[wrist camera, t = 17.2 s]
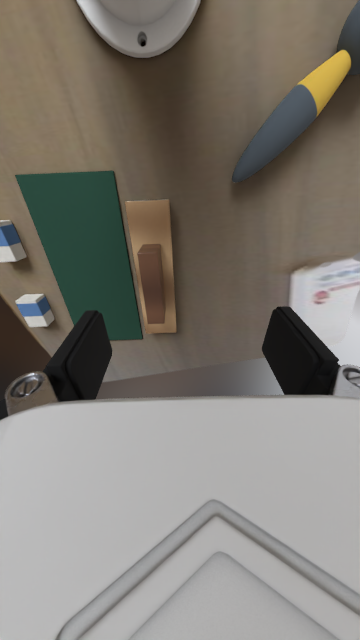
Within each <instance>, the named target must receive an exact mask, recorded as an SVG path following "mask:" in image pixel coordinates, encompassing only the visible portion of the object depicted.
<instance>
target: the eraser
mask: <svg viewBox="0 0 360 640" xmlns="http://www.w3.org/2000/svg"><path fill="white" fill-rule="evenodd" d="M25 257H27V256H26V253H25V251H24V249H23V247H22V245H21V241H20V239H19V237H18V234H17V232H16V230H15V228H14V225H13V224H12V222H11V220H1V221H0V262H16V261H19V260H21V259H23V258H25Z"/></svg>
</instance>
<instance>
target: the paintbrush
mask: <svg viewBox="0 0 360 640" xmlns="http://www.w3.org/2000/svg"><path fill="white" fill-rule="evenodd" d="M346 74H349V75H357V74H360V0H359V1H358V2H357V4H356V5H355V7H354V8H353V10H352V11H351V13H350V15H349V16H348V18H347V20H346V22H345V24H344V26H343V29H342V31H341V34H340V38H339V41H338V46H337V54H335V55H334V56H332V57H331V58H330V59H328V60H327V61H326V62H324V63H323V64H322V65H320V66H319V67H318V68H317V69H315V70H314V71H313V72H311V73H310V74H309V75H308V76H307V77H305V78H304V79H303V80H302V81H301V82H299V83H298V84H297V85H296V86H295V87H294V88H293V89H292V90H291V91H290V92H289V94H288V95H287V96H286V97H285V98H284V99H283V100H282V102H281V103H280V104H279V105H278V106H277V108H276V109H275V110H274V111H273V113H272V114H271V115H270V116H269V118H268V119H267V120H266V122H265V123H264V124H263V126H262V127H261V128H260V130H259V131H258V132H257V134H256V135H255V136H254V138H253V139H252V141H251V142H250V144H249V145H248V147H247V148H246V150H245V151H244V153H243V155H242V156H241V158H240V160H239V161H238V163H237V165H236V167H235V170H234V172H233V176H232V181H233V182H235V183H236V182H240V181H243V180H245V179H247V178H248V177H250V176H252V175H253V174H255V173H256V172H257V171H259V170H260V169H261V168H263V167H264V166H265V165H267V164H268V163H269V162H270V161H272V160H273V159H274V158H275V157H276V156H277V155H279V154H280V153H281V152H282V151H283V150H284V149H286V148H287V147H288V146H289V145H290V144H291V143H292V142H293V141H294V140H295V139H296V138H297V137H298V136H299V135H300V134H301V133H302V132H303V131H304V130H305V129H306V128H307V127H308V126H309V125H310V124H311V123H312V122H313V121H314V120H315V119H316V117H317V116H318V115H319V113H320V112H321V111H322V109H323V108H324V107H325V105H326V104H327V102H328V101H329V100H330V98H331V97H332V95H333V94H334V92H335V91H336V90H337V88H338V87H339V85H340V84H341V82H342V81H343V79H344V78H345V76H346Z"/></svg>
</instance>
